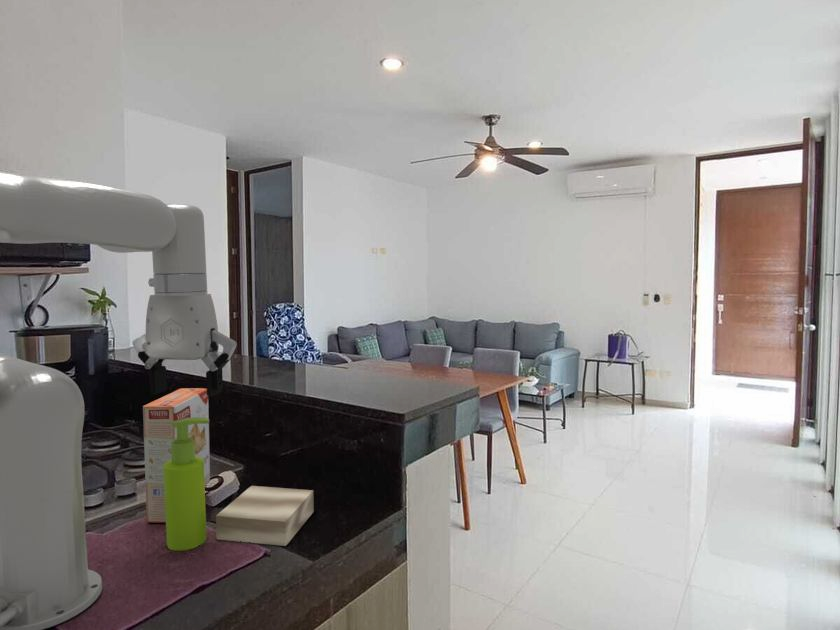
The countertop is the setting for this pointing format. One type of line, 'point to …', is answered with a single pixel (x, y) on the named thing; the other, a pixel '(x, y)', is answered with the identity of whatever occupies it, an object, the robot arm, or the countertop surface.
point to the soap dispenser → (185, 491)
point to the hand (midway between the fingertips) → (186, 393)
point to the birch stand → (265, 515)
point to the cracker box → (163, 434)
